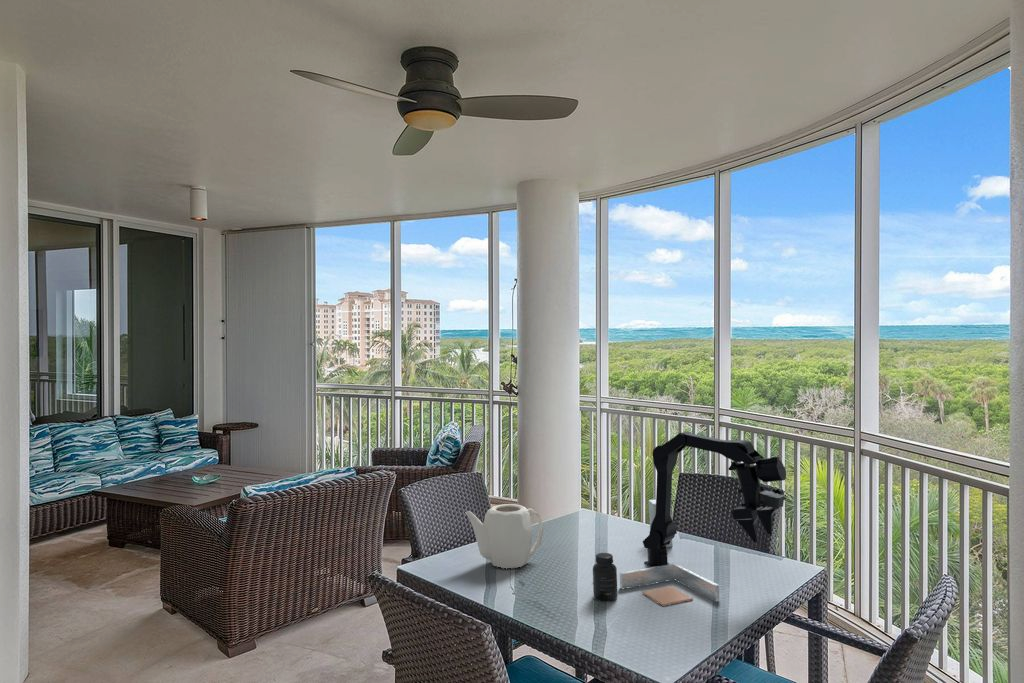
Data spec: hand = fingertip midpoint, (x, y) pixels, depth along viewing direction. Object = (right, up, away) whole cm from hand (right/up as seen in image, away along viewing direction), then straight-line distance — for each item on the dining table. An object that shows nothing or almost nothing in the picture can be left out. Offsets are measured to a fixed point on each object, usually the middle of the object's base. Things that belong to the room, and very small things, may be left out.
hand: (762, 538), depth 176 cm
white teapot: (-75, -18, +27) cm, 81 cm away
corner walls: (-28, -16, -2) cm, 32 cm away
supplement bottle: (-46, -16, -3) cm, 49 cm away
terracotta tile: (-29, -16, -3) cm, 33 cm away
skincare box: (-19, -17, +45) cm, 51 cm away
